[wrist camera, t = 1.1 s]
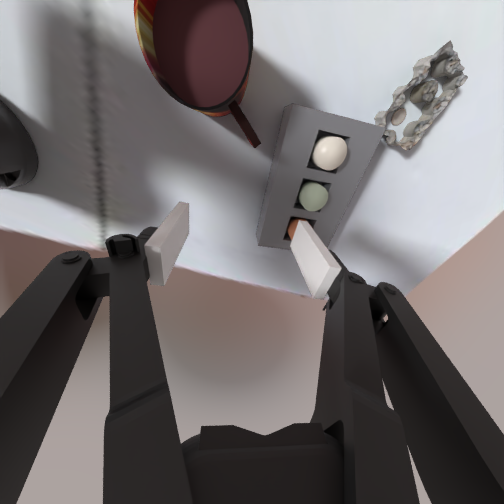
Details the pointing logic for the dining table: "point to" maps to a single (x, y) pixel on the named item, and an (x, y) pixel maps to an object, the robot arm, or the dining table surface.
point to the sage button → (312, 196)
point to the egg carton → (424, 95)
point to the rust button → (294, 225)
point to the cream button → (328, 152)
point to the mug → (199, 53)
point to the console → (313, 173)
